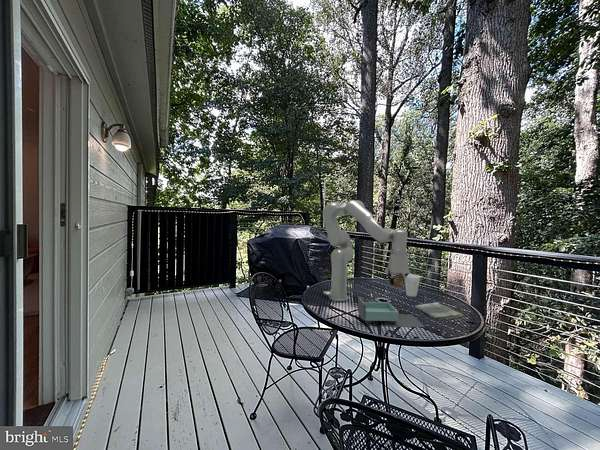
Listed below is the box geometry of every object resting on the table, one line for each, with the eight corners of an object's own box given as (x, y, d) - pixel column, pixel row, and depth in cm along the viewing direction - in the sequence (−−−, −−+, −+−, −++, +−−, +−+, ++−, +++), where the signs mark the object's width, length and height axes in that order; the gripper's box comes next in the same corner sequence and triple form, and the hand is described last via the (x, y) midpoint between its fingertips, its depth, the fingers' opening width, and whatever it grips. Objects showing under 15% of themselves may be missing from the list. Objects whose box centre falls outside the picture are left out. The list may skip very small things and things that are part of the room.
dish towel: (435, 320, 156) (436, 314, 156) (414, 308, 173) (414, 303, 173) (464, 318, 161) (465, 312, 160) (440, 306, 178) (441, 301, 178)
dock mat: (388, 326, 145) (388, 326, 145) (378, 314, 161) (378, 313, 161) (425, 327, 145) (425, 327, 145) (411, 314, 162) (411, 314, 162)
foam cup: (411, 298, 191) (412, 278, 190) (400, 293, 200) (401, 274, 199) (422, 296, 196) (423, 276, 195) (410, 292, 204) (412, 273, 203)
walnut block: (394, 287, 162) (394, 278, 162) (390, 284, 167) (391, 275, 167) (403, 287, 163) (403, 278, 162) (399, 284, 168) (400, 275, 167)
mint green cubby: (363, 324, 146) (363, 305, 145) (356, 314, 160) (357, 296, 159) (397, 325, 146) (399, 305, 145) (388, 314, 160) (389, 296, 159)
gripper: (385, 253, 159) (383, 286, 161) (416, 253, 160) (414, 287, 162) (381, 250, 167) (379, 282, 168) (411, 251, 168) (409, 283, 169)
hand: (396, 284), depth 165 cm, fingers closed on walnut block, 4 cm apart
